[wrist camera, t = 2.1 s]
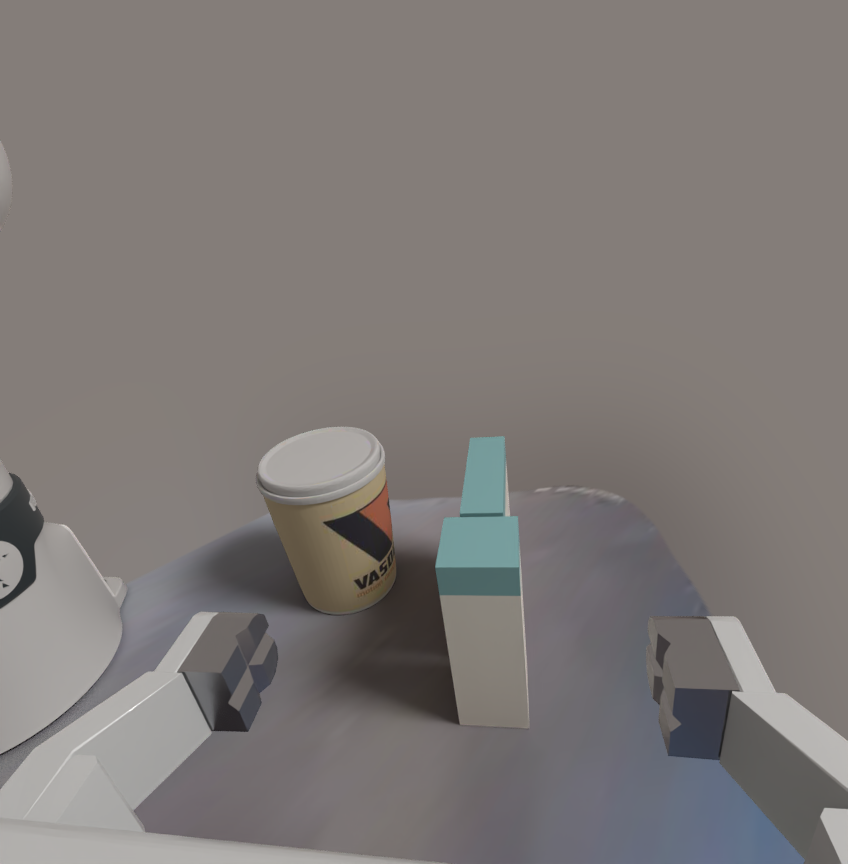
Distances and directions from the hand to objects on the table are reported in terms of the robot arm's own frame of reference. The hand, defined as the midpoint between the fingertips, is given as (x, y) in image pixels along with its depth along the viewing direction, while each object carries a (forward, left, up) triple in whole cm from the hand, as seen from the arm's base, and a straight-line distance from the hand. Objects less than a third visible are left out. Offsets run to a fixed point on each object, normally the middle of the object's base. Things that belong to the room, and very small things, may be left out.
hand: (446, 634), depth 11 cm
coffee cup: (-18, +20, -20) cm, 34 cm away
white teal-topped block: (-4, +13, -20) cm, 24 cm away
